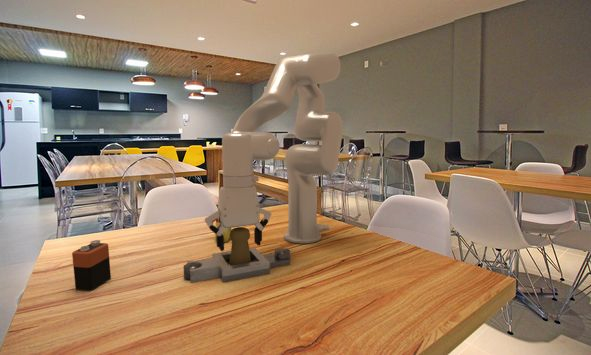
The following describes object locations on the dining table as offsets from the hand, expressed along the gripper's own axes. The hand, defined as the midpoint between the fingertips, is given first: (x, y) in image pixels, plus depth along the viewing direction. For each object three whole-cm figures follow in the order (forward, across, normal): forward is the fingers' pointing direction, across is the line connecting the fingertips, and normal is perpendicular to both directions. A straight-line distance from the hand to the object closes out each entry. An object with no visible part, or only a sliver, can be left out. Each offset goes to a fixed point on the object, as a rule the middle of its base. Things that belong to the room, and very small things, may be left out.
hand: (239, 246), depth 87 cm
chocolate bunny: (+6, -1, -27) cm, 28 cm away
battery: (+6, +34, -6) cm, 35 cm away
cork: (+6, 0, 0) cm, 6 cm away
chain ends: (+6, 0, 0) cm, 6 cm away
